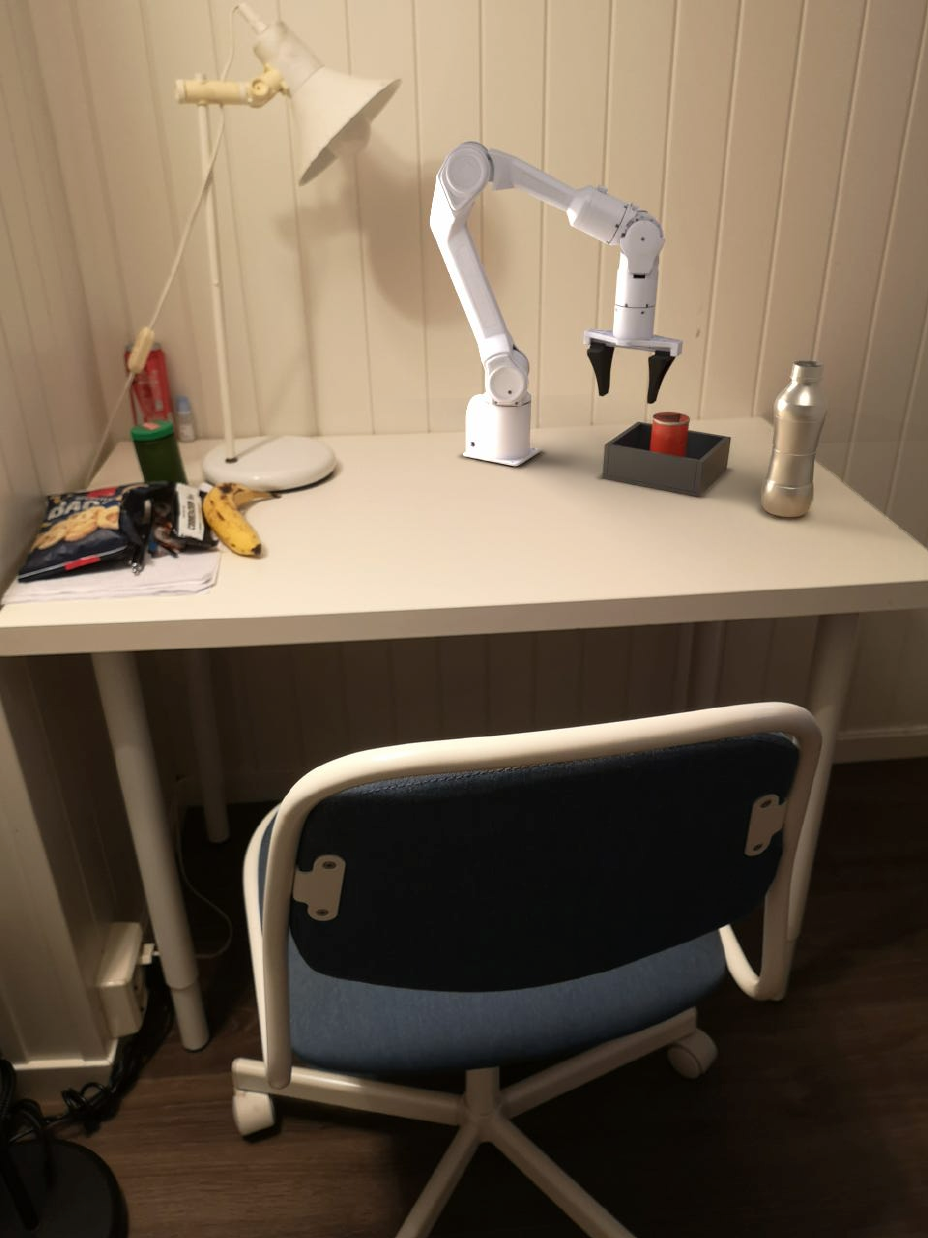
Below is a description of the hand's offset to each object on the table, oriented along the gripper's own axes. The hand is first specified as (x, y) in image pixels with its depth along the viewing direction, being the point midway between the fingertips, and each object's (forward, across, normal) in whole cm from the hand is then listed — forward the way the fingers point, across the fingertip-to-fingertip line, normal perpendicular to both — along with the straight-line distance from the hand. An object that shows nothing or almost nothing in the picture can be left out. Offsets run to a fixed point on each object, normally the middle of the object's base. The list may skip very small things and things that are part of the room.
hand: (627, 398), depth 145 cm
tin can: (+9, +8, -3) cm, 12 cm away
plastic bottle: (+10, +27, -9) cm, 30 cm away
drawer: (+9, +8, -3) cm, 13 cm away
